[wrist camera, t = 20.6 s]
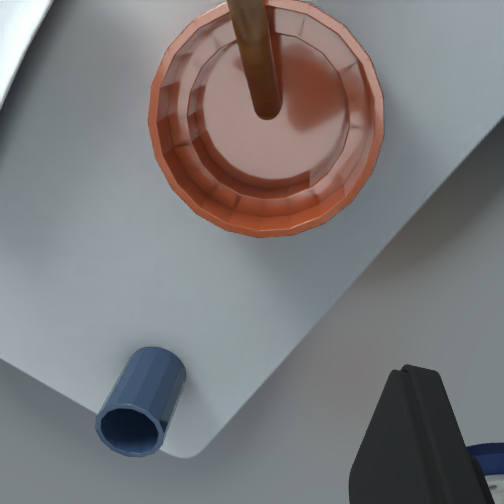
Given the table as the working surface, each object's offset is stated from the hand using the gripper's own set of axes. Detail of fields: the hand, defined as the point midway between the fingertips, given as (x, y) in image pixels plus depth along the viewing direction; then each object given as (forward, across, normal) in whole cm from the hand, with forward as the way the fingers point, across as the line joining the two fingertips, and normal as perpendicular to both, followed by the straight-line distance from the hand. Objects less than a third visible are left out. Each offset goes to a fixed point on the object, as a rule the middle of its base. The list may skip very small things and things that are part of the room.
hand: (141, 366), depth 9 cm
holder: (+30, +6, +27) cm, 41 cm away
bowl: (+30, 0, 0) cm, 30 cm away
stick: (+29, 0, 0) cm, 29 cm away
